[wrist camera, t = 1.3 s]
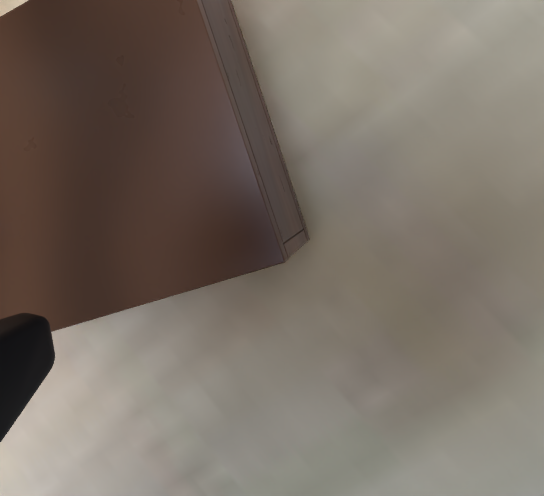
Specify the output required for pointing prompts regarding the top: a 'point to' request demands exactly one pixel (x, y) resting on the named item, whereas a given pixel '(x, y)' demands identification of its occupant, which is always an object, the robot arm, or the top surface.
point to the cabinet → (133, 157)
